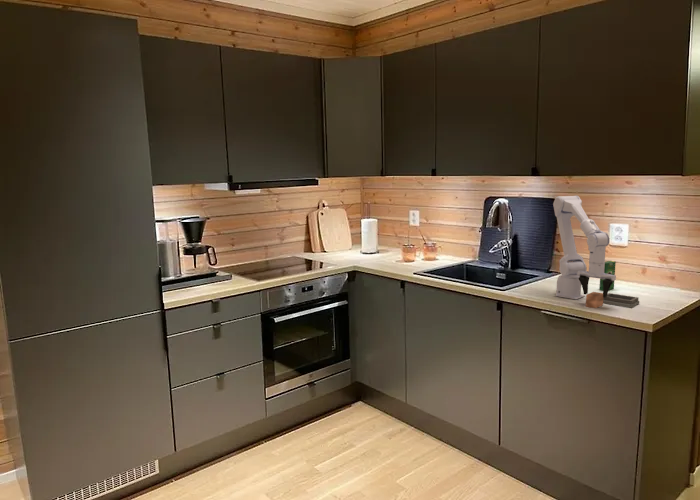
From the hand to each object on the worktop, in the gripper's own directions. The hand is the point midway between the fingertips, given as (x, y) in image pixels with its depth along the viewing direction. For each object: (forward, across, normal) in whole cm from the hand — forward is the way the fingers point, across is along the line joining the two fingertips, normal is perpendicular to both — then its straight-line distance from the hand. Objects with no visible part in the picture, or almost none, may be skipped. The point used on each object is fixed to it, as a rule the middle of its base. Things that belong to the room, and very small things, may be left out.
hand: (595, 295), depth 215 cm
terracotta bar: (+4, 0, 0) cm, 4 cm away
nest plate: (+4, +6, +11) cm, 13 cm away
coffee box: (+4, -7, +31) cm, 32 cm away
